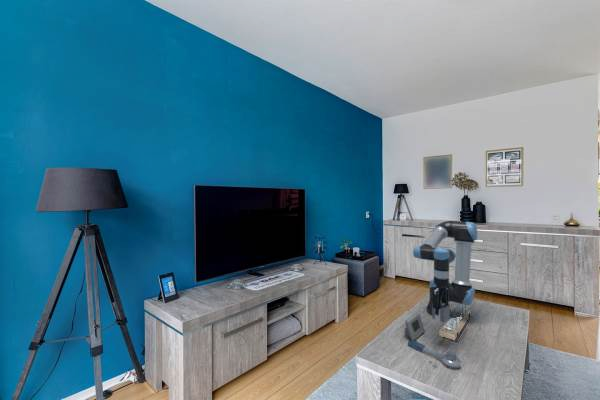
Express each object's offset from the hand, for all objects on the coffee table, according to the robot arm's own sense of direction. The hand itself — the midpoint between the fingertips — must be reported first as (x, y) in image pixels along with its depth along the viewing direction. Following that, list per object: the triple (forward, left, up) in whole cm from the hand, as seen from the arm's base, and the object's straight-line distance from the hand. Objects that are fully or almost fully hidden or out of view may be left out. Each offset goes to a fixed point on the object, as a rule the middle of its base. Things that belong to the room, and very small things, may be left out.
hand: (440, 318), depth 154 cm
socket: (0, 0, 0) cm, 0 cm away
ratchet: (+14, +3, -14) cm, 21 cm away
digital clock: (+2, -14, -15) cm, 20 cm away
